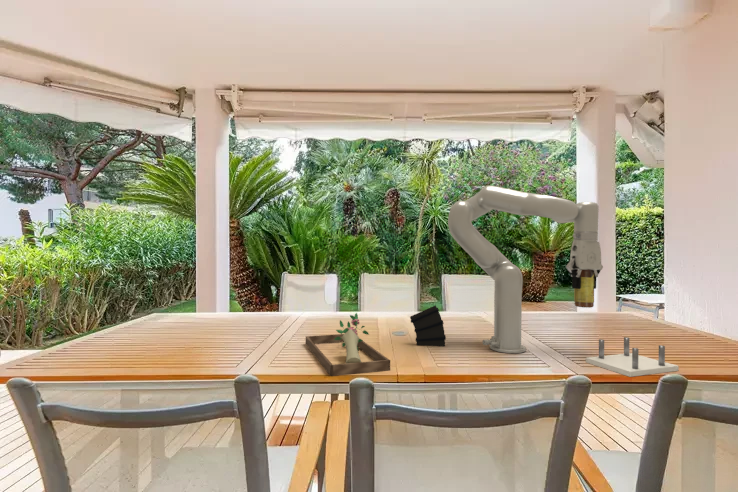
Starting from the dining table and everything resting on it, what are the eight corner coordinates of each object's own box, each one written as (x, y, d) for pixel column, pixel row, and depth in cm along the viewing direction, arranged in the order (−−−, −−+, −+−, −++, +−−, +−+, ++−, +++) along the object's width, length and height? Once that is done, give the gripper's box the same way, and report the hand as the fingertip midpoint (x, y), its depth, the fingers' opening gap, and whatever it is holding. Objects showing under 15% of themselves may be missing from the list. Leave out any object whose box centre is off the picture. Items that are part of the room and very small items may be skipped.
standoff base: (630, 376, 123) (630, 351, 123) (585, 362, 138) (585, 339, 138) (678, 370, 129) (678, 346, 129) (631, 357, 144) (631, 335, 144)
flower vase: (342, 395, 127) (338, 343, 161) (381, 383, 127) (369, 333, 161) (330, 361, 124) (329, 315, 158) (370, 349, 125) (360, 306, 158)
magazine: (453, 342, 157) (436, 306, 158) (421, 356, 159) (405, 320, 160) (453, 340, 161) (436, 304, 162) (421, 353, 163) (405, 318, 163)
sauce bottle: (597, 308, 145) (599, 251, 145) (580, 308, 145) (582, 250, 144) (586, 305, 152) (588, 250, 151) (569, 305, 151) (571, 250, 151)
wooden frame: (330, 376, 122) (330, 365, 122) (305, 344, 160) (305, 336, 160) (390, 370, 128) (390, 360, 128) (352, 340, 166) (352, 333, 166)
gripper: (574, 236, 142) (573, 289, 142) (613, 238, 147) (611, 289, 147) (558, 236, 149) (556, 287, 149) (595, 238, 154) (594, 287, 154)
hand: (584, 287), depth 148 cm, fingers closed on sauce bottle, 6 cm apart
